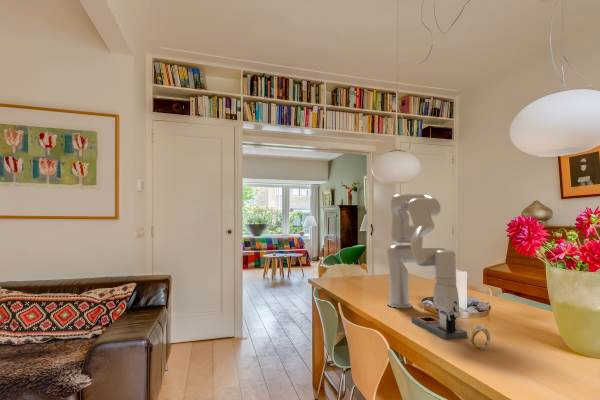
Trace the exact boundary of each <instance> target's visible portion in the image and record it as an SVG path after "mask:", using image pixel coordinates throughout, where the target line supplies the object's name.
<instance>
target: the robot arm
mask: <svg viewBox="0 0 600 400" xmlns="http://www.w3.org/2000/svg"><path fill="white" fill-rule="evenodd" d="M390 210H391V215H392V221H391V240H392V241H393V242H394V243H399V244H392V245H390V246H389V247H388V248H387V250H386V254H387V261H388V270H389V272H388V273H389V295H388V296H387V297H388V298H389V300H388V301H387V302H386V305H387V306H388V305H389V306H388V307H390V306H391V308H394V307H396V308H395V309H409V308H412V307H413V303H412V302H410V291H409V271H408V269H407V267H406V266H405V264H407V263H410V264H413V263H415V264H416V265H418V266H419V267H435V269H434V270H435V273H434V274H435V283H434V287H433V300H432V301H433V303H432V304H433V307H434V308H435V309H436V311H437V312H436V313H437V315H438V317H439V312H446V313H447V314H448V320H447V330H448V331H454V330H455V327H456V320H457V318H458V317H460V316H461V312H460V298H459V291H458V287H457V270H456V269H457V264H456V263H457V262H456V259H457V258H456V252H455V251H454V250H451V249H445V248H443V247H423V242H424V241H423V238H424V236H425V235H427V234H430V233H431V232H432V231H433V230H434V229H435V223H434V221H433V217H436V216H437V215H439V214H440V212H441V203H440V202H439V200H438V199H437V198H435V197H433V196H431V195H428V194H424V193H399V194H395V195H393V196H392V197H391V199H390ZM410 219H411V221H412V224H410ZM451 314H452V315H451ZM439 326H440V323H439Z"/></svg>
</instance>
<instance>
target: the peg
mask: <svg viewBox="0 0 600 400" xmlns="http://www.w3.org/2000/svg"><path fill="white" fill-rule="evenodd" d="M451 315H452V314H451ZM438 317H439V318H438V319H439V323H440V329H441V330H443V331H445V332H449V331H448V330H447V320H448V314H447V313H446V312H439V316H438ZM454 331H455V330H454Z"/></svg>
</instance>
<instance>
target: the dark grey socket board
mask: <svg viewBox="0 0 600 400" xmlns="http://www.w3.org/2000/svg"><path fill="white" fill-rule="evenodd" d="M411 323H412V324H414V325H416V326H418V327H420V328H422V329H424V330H425V329H426V331H428V332H430V333H431V334H433V335H435V336H437V337H439V338H440V339H443V340H446V341H447V340H453V339H465V338H468V331H466V330H464V329H462V328H460V327H457V326H455V331H449V332H445V331H443V330H441V329H440V326H439V318H437V317H435V316H432V315H427V316H415V317H413V316H412V317H411Z"/></svg>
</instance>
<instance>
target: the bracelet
mask: <svg viewBox="0 0 600 400" xmlns="http://www.w3.org/2000/svg"><path fill="white" fill-rule="evenodd" d="M481 331H482V332H483V334H485V336H486V341H485V343H484V344H483V345H477V344H475V337H476V335H477V334H478V333H480V332H481ZM469 339H470V342H471V344H472V346H473V347H474V348H477V349H479V350H483V349H486V348H487V347H488V346H489V344H490V342H491V334H490V331H489V330H488V329H486V327H485V326H483V325H478V324H477V325H475V326H474V327H473V328H472V329H471V331H470V334H469Z"/></svg>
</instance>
